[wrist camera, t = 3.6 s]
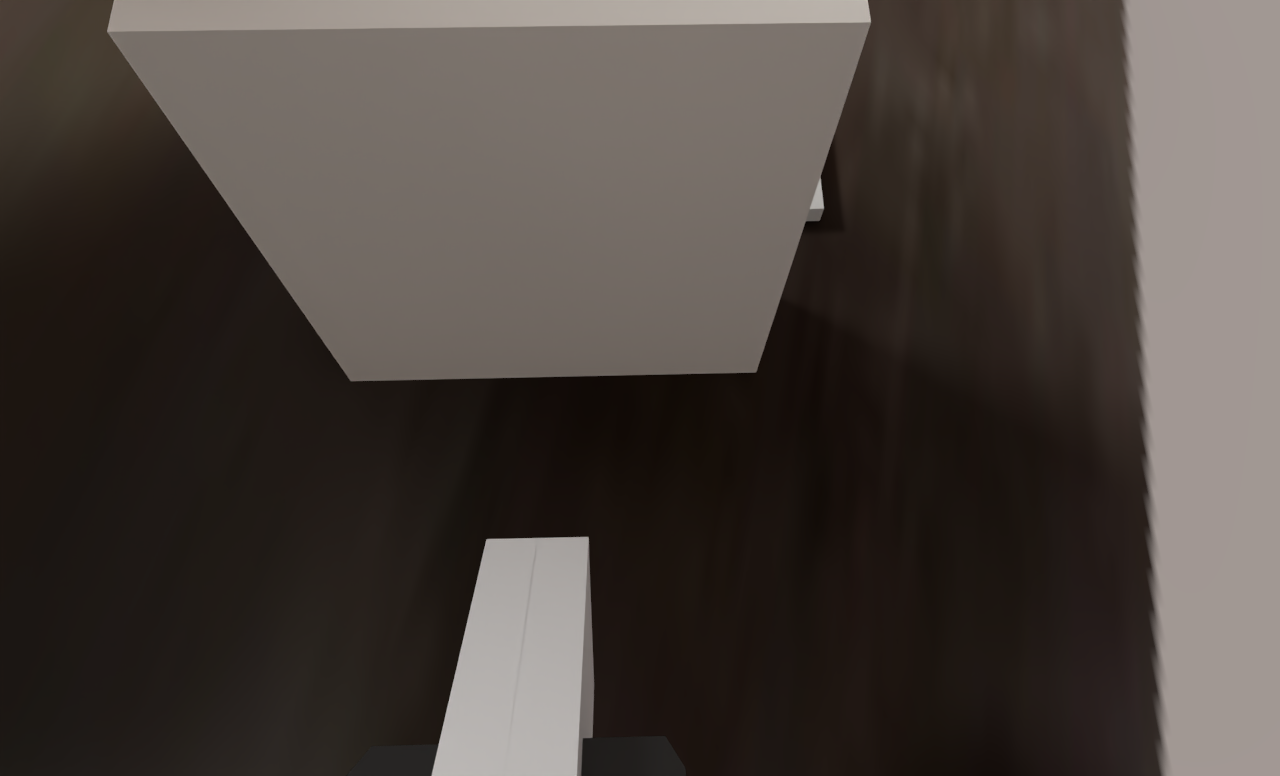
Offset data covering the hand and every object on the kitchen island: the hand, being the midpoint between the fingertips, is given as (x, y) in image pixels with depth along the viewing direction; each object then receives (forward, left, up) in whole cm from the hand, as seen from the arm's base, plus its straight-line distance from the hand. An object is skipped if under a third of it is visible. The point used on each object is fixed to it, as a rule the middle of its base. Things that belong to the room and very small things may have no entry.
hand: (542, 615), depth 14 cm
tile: (-6, +5, -7) cm, 11 cm away
